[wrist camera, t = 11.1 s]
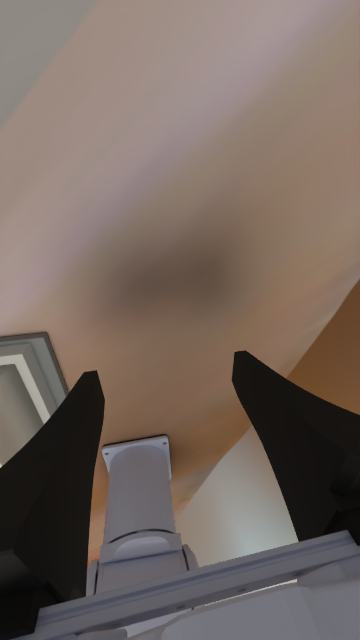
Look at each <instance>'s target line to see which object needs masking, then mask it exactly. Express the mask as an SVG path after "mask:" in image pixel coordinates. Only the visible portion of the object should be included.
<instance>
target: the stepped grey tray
mask: <svg viewBox="0 0 360 640" xmlns="http://www.w3.org/2000/svg"><path fill="white" fill-rule="evenodd" d="M7 364H15V366H16V368H17V370H18V372H19V374H20V376H21V379H22V381H23V383H24V385H25V387H26V389H27V391H28V393H29V395H30V397H31V399H32V401H33V403H34V405H35V407H36V410H37V412H38V414H39V416H40V418H41V420H42V422H43V424H45V423H46V422H47V420H48V419H49V418H50V417H51V416H52V414H53V413H54V412H55V411H56V410H57V408H58V407H59V406H60V404H61V403H62V402H63V400H64V399H65V398H66V397H67V395H68V394H69V392H68V390H67V387H66V384H65V381H64V379H63V376H62V373H61V370H60V368H59V365H58V362H57V360H56V357H55V354H54V351H53V349H52V346H51V343H50V340H49V338H48V335H47V332H45V333H36V334H27V335H18V336H9V337H0V365H7Z"/></svg>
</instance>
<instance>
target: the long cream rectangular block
mask: <svg viewBox="0 0 360 640" xmlns="http://www.w3.org/2000/svg"><path fill="white" fill-rule="evenodd" d="M43 425H44V424H43V422H42V420H41V418H40V416H39V414H38V412H37V410H36V407H35V405H34V403H33V401H32V399H31V397H30V395H29V393H28V391H27V389H26V387H25V385H24V383H23V381H22V379H21V376H20V374H19V372H18V370H17V368H16V366H15V364H7V365H0V468H1V467H2V466H3V465H4V464H5V463H6V462H7V461H8V460H9V459H11V458H12V457H13V456H14V455H15V454H16V453H17V452H18V451H19V450H20V449H21V448H22V447H23V446H24V445H25V444H26V443H27V442H28V441H29V440H30V439H31V438H32V437H33V436H34V435H35V434H36V433H37V432H38V431H39V430H40V428H41V427H42V426H43Z"/></svg>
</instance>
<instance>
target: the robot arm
mask: <svg viewBox="0 0 360 640" xmlns="http://www.w3.org/2000/svg"><path fill="white" fill-rule="evenodd" d="M232 382H233V385H234V388H235V391H236V393H237V396H238V398H239V400H240V402H241V404H242V406H243V408H244V409H245V411H246V413H247V415H248V417H249V419H250V421H251V423H252V424H253V426H254V428H255V430H256V432H257V434H258V436H259V438H260V440H261V442H262V444H263V446H264V449H265V451H266V454H267V456H268V459H269V461H270V463H271V466H272V468H273V471H274V473H275V476H276V479H277V481H278V484H279V486H280V489H281V492H282V495H283V497H284V500H285V503H286V506H287V508H288V511H289V514H290V517H291V520H292V523H293V526H294V529H295V532H296V535H297V538H298V541H299V542H298V543H294V544H290V545H286V546H282V547H278V548H274V549H270V550H266V551H262V552H259V553H255V554H251V555H247V556H243V557H239V558H235V559H231V560H227V561H223V562H219V563H216V564H212V565H208V566H204V567H200V568H199V566H198V562H197V559H196V557H195V554H194V553H193V552H192V551H191V549H190V548H189V546H188V545H187V544H186V545H182V542H181V535H180V533H176V529H175V521H174V512H173V504H172V496H171V488H170V479H171V478H172V475H171V464H170V453H169V442H168V437H167V436H160V437H154V438H148V439H142V440H137V441H131V442H125V443H120V444H114V445H108V446H104V447H103V448H102V454H103V457H104V460H105V463H106V466H107V469H108V472H109V481H108V492H107V504H106V515H105V526H104V537H103V545H102V546H101V550H100V561H99V560H98V559H94V560H92V561H91V564H90V565H89V566H88V568H87V561H88V542H89V526H90V512H91V499H92V488H93V477H94V469H95V463H96V458H97V452H98V447H99V441H100V436H101V431H102V425H103V419H104V404H105V399H104V395H103V391H102V388H101V384H100V380H99V376H98V373H97V370H96V371H89V372H84V373H83V374H82V376H81V377H80V378H79V380H78V381H77V383H76V384H75V386H74V387H73V388H72V390H71V391H70V392H69V394H68V395H67V397H66V398H65V399H64V400H63V402H62V403H61V404H60V406H59V407H58V408H57V410H56V411H55V412H54V413H53V414H52V416H51V417H50V418H49V419H48V420H47V422H46V423H45V424H44V425H43V426H42V427H41V428H40V430H39V431H38V432H37V433H36V434H35V435H34V436H33V437H32V438H31V439H30V440H29V441H28V442H27V443H26V444H25V445H24V446H23V447H22V448H21V449H20V450H19V451H18V452H17V453H16V454H15V455H14V456H13V457H12V458H11V459H9V460H8V461H7V462H6V463H5V464H4V465H3V466H2V467H1V468H0V640H360V415H358V414H355V413H353V412H350V411H348V410H346V409H343V408H341V407H338V406H336V405H334V404H332V403H330V402H327V401H325V400H323V399H321V398H319V397H317V396H315V395H313V394H311V393H309V392H308V391H306V390H304V389H302V388H300V387H299V386H297V385H295V384H294V383H292V382H290V381H289V380H287V379H286V378H284V377H283V376H281V375H279V374H278V373H276V372H275V371H274V370H272V369H271V368H269V367H268V366H266V365H265V364H264V363H262V362H261V361H260V360H258V359H257V358H255V357H254V356H253V355H251V354H250V353H248V352H247V351H238V352H235V354H234V364H233V373H232ZM294 579H297V583H290V584H284V585H279V586H276V587H272V588H269V589H265V590H261V591H258V592H255V593H251V594H247V595H244V596H240V597H237V598H233V599H229V600H226V601H222V602H218V603H215V604H211V605H208V606H205V604H208V603H211V602H215V601H219V600H222V599H226V598H229V597H233V596H237V595H240V594H244V593H247V592H251V591H254V590H258V589H261V588H265V587H269V586H272V585H276V584H279V583H283V582H287V581H290V580H294Z"/></svg>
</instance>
